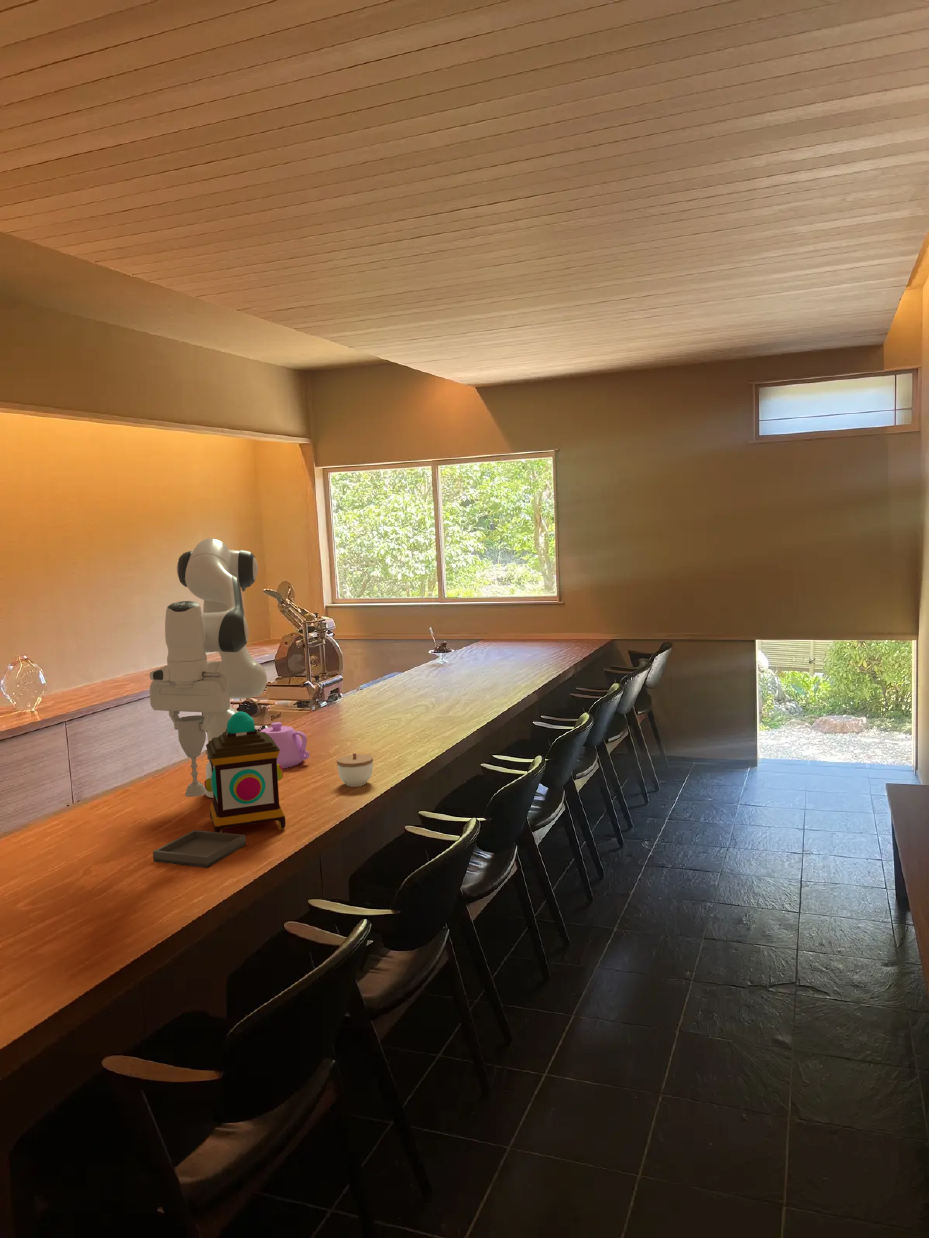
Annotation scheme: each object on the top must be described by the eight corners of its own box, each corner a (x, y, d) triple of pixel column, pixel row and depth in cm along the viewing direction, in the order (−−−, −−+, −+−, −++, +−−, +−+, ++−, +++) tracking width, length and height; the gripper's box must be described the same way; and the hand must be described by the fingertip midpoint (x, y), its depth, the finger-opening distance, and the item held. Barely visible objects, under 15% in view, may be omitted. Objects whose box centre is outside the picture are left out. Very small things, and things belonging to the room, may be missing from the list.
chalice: (201, 787, 208) (196, 714, 206) (217, 792, 203) (213, 717, 202) (173, 795, 202) (169, 719, 200) (190, 799, 198) (185, 722, 196)
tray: (194, 839, 214) (194, 829, 214) (246, 844, 209) (245, 834, 208) (153, 861, 200) (152, 851, 200) (207, 868, 195) (206, 857, 194)
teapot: (322, 757, 290) (319, 717, 289) (297, 772, 273) (294, 729, 272) (256, 755, 297) (253, 716, 296) (228, 768, 280) (225, 727, 279)
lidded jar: (330, 787, 255) (329, 756, 254) (351, 777, 264) (350, 747, 264) (360, 790, 250) (359, 759, 249) (381, 780, 259) (379, 750, 259)
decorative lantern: (204, 819, 230) (197, 708, 227) (279, 808, 236) (273, 700, 234) (210, 843, 211) (202, 723, 208) (291, 830, 218) (284, 714, 215)
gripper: (233, 670, 199) (237, 728, 201) (161, 668, 207) (165, 725, 208) (217, 674, 194) (221, 734, 195) (143, 673, 201) (148, 731, 202)
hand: (192, 729), depth 201 cm, fingers closed on chalice, 6 cm apart
